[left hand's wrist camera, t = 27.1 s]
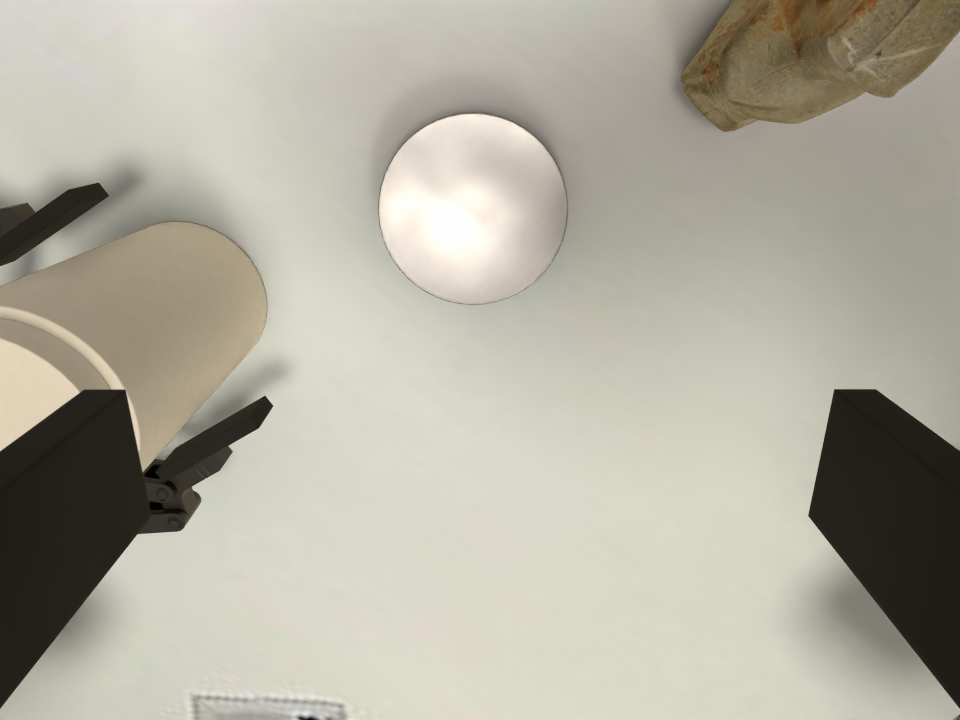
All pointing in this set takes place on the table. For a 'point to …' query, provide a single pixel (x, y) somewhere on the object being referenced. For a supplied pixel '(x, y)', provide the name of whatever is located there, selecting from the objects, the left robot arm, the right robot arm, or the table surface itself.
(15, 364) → the jar
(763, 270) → the table surface
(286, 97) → the table surface
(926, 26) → the sculpture
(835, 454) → the left robot arm
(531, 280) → the lid
